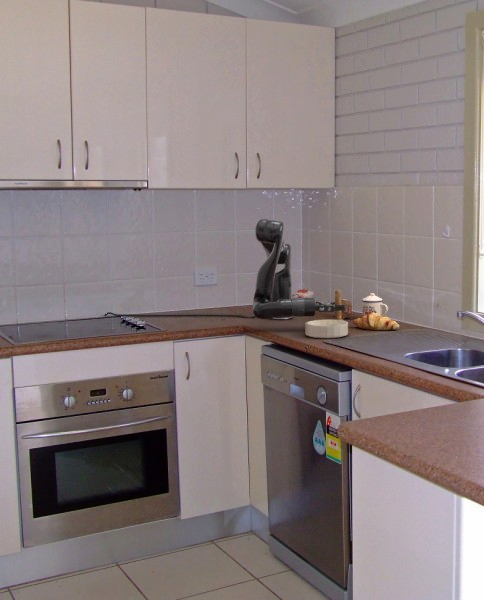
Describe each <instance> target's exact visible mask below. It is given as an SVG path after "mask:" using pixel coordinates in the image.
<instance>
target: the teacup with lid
mask: <svg viewBox="0 0 484 600" xmlns="http://www.w3.org/2000/svg"><path fill="white" fill-rule="evenodd" d="M383 301H384V299H383V298H381V297H380V296H378V295H376V294H375V293H374V292H370V293H369V295H367V296H366V297H363V298H362V300H361V302H362V317H364V316H368V315H369V314H370V313H372V312H373V313H378V314H380V315H381V316H386V315H387V314H388V311H389V307H388V305H387V304H386V303H383ZM383 307H385V311H384V312H383Z"/></svg>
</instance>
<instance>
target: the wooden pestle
mask: <svg viewBox="0 0 484 600" xmlns="http://www.w3.org/2000/svg"><path fill="white" fill-rule="evenodd" d="M341 299H342V290H341V289H335V290H334V302H335V305H341ZM333 320H342V321H345V320H344V319H342V318H341V311H335V313H334V319H333Z"/></svg>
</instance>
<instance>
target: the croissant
mask: <svg viewBox="0 0 484 600" xmlns="http://www.w3.org/2000/svg"><path fill="white" fill-rule="evenodd" d="M351 322H352V324H353V325H355V326H356V327H358V328H359V329H364V330H368V331H369V330H370V331H390V330H398V329H400V324H399V323H397V322H396V320H393V319H391V318H390V316H386V315H382V316H381V315H380V314H378V313H373V312H372V313H370V314H369V315H368V316H364V317H363V316H362V317H357V318H356V319H351Z"/></svg>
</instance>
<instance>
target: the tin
mask: <svg viewBox="0 0 484 600" xmlns="http://www.w3.org/2000/svg"><path fill="white" fill-rule="evenodd" d="M341 304H342V305H344V310H342V311H341V319H343V320H344V319H345V320H346V319H350V318H351V317H352V311H353V310H352V309H353V305H352V302H351V301H350V300H349V299H344V298H341ZM333 313H334V314H335V311H334V312H333Z"/></svg>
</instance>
